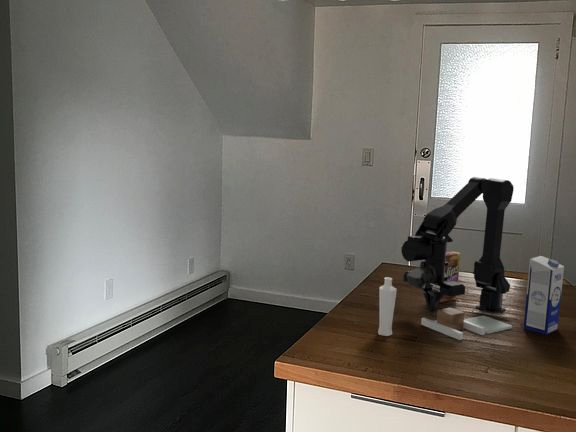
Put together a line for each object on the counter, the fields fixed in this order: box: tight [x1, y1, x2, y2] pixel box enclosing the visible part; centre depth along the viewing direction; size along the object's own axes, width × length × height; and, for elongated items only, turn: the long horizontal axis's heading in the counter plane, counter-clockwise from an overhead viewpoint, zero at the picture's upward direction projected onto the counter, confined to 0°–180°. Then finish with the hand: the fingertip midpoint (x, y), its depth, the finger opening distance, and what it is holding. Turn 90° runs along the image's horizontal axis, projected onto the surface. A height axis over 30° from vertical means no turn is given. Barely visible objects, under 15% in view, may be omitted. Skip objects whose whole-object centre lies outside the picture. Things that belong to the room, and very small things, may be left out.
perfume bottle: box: [377, 276, 398, 337], centre depth 170 cm, size 5×4×15 cm
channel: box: [421, 317, 486, 341], centre depth 176 cm, size 10×14×2 cm
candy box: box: [436, 250, 462, 303], centre depth 204 cm, size 9×4×15 cm, turn 123°
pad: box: [464, 315, 513, 335], centre depth 181 cm, size 10×10×1 cm
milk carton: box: [522, 255, 565, 335], centre depth 178 cm, size 7×7×20 cm
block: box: [436, 307, 465, 332], centre depth 177 cm, size 5×5×5 cm
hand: (431, 312), depth 183 cm, fingers closed
